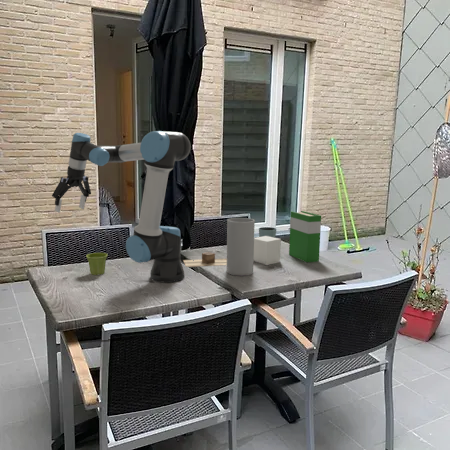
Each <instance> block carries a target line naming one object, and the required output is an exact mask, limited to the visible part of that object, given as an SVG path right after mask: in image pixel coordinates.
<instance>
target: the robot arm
mask: <svg viewBox="0 0 450 450" xmlns="http://www.w3.org/2000/svg"><path fill="white" fill-rule="evenodd" d="M191 145H192V144H191V141H190V140H189V138H188V136H186V134H184V133H182V132H178V131H166V130H163V131H162V130H154V131H150V132H148V133H147V134H145V135H144V136H143V138H142V140H141V141H140V142H135V143H128V144H119V145H97V144H94V143H92V142H91V136H90V135H89V134H87V133H84V132H83V133H82V132H75V133H74V134H73V136H72V141H71V146H70V154H69V158H68V163H67V164H68V166H67V172H66V174H67V176H66V177H63V176H61V177H60V181H59V182H58V183H57V186H56V188H55V189H54V191H53V193H52V194H51V197H53V198H54V199H55V200H54V205H55V207H54V211H55V212H56V213H61V207H62V202H63V199H62V197H63V196H64V195H65V194H66V193H67V192H68V191H69V189H71V188H75V187H76V188H78V189H79V191H80V192H81V195H80V199H79V204H78V208H80V209H81V210H84V209H85V205H86V204H85V203H86V202H87V199H88V198H89V196H90V195H92V190H91V186H90V183H89V177H88V176H87V175H85V173H86V166H87V163H88V162H87V161H89V162H90V163H92V164H94V165H96V166H99V167H103V166H105V165H107V163H125V162H132V161H142V160H144V161H143V164H144V166H145V167H146V174H145V179H144V180H145V181H144V187H143V193H142V201H141V208H140V213H139V220H138V224H137V225H135V226H134V228H133V234H132V235H130V236H129V237H128V238H127V239H126V242H125V249H126V253H127V254H128V256H129V258H130V259H131V260H132V261H133V262H136V263H141V264H142V263H148V262H149V261H152V260H153V263H152V268H151V270H150V279H151V280H152V281H154V282H159V283H161V282H162V283H174V282H179V281H181V280H183V279H185V271H184V267H183V263H182V261H181V260H182V259H181V245H182V244H181V239H182V237H181V230H180V228H179V227H176V226H168V225H165V226H164V225H161V222H162V221H161V220H162V215H163V208H164V203H165V198H166V189H167V185H168V178H169V175H170V172H171V171H172V170H173V169H174V166H175V162H179V161H182V160H185V159H186V158H187V157H189V155H190V153H191V148H192V146H191Z"/></svg>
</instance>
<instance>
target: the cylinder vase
mask: <svg viewBox="0 0 450 450" xmlns="http://www.w3.org/2000/svg"><path fill="white" fill-rule="evenodd" d="M226 221H227V223H226V225H227V227H226V229H227V230H226V259H227V265H226V273H228V275H231V276H237V277H238V276H240V277H241V276H242V277H244V276H251V275H252V274H253V273H254V262H255V261H254V238H255V223H256V221H255V219H253V218H249V217H248V218H247V217H230V218H227V219H226Z"/></svg>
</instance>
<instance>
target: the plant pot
mask: <svg viewBox="0 0 450 450" xmlns="http://www.w3.org/2000/svg"><path fill="white" fill-rule="evenodd" d="M85 257H86V259H87V261H88V265H89V271H90V274H91V275H92V276H100V275H101V274H102V275H104V274H105V271H106V261H107V257H108V253H105V252H93V253H87V254H86V256H85Z"/></svg>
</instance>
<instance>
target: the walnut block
mask: <svg viewBox="0 0 450 450" xmlns="http://www.w3.org/2000/svg"><path fill="white" fill-rule="evenodd" d="M215 255H216V253H214V252H210V251H206V252H203V253H201V259H202V262H203V263H206V264H211V263H215V259H216V256H215Z"/></svg>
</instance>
